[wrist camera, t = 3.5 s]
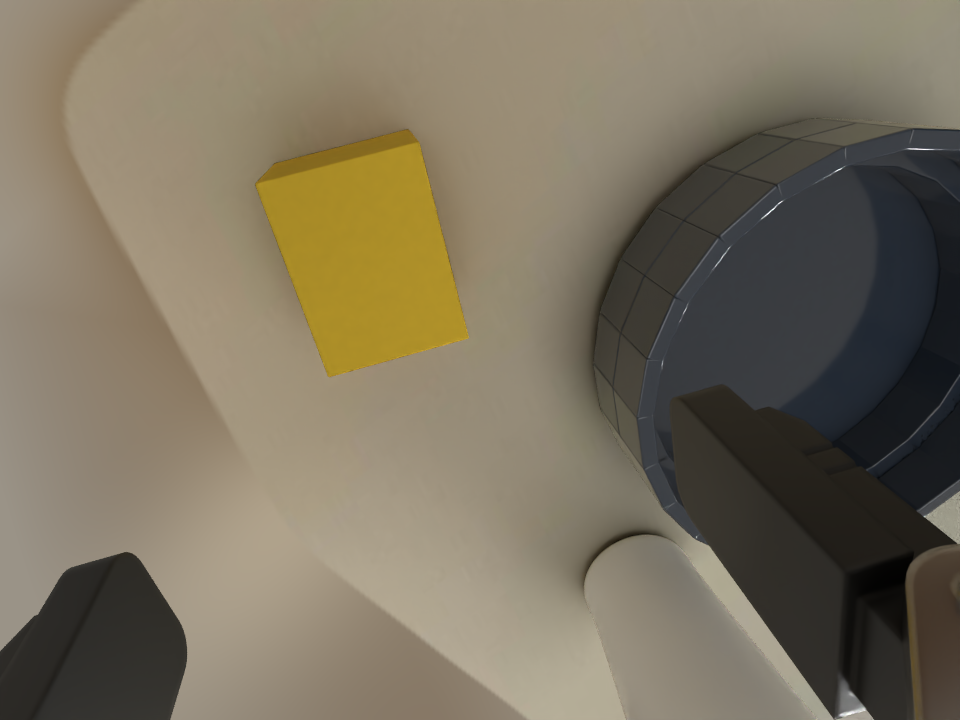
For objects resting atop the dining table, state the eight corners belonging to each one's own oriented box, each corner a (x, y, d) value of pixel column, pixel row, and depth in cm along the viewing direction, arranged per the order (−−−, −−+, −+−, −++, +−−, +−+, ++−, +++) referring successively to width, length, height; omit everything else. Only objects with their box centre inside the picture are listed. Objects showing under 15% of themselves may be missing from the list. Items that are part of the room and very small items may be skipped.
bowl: (614, 527, 29) (660, 609, 24) (559, 181, 22) (610, 209, 17) (933, 431, 30) (1034, 494, 25) (981, 69, 23) (1133, 68, 18)
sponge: (333, 329, 23) (328, 378, 19) (273, 163, 20) (254, 183, 16) (452, 296, 23) (469, 338, 19) (409, 128, 20) (419, 140, 17)
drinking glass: (616, 642, 32) (796, 1046, 19) (537, 578, 29) (684, 1002, 16) (721, 565, 31) (990, 936, 18) (650, 491, 28) (907, 867, 15)
